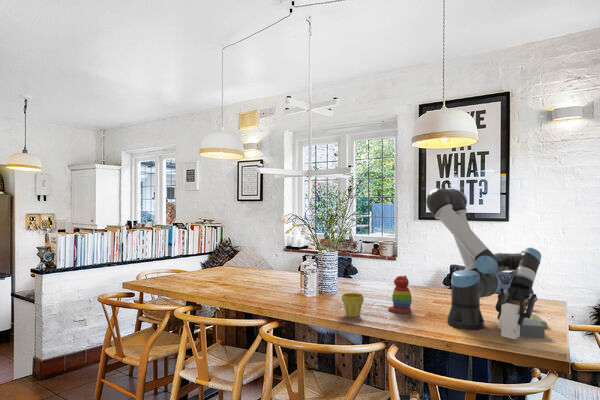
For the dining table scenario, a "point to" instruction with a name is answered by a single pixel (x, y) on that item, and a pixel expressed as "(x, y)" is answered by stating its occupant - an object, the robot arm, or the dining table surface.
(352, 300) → the plant pot
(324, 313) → the dining table surface
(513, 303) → the brown flat oval
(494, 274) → the robot arm
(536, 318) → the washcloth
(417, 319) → the dining table surface
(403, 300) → the stacking bear
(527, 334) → the charcoal base block
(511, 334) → the cream block
